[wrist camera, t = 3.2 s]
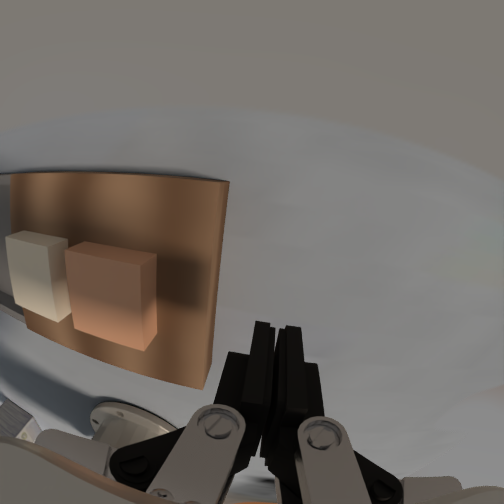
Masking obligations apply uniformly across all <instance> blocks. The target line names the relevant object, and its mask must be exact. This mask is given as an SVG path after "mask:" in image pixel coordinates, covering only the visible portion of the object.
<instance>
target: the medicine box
mask: <svg viewBox="0 0 504 504" xmlns="http://www.w3.org/2000/svg"><path fill="white" fill-rule="evenodd" d="M41 432H42V431H41V429H40V427H39V425H38V423H37V422H36V420H35V419H34V417H33V416H31V415H30V414H28V413H27V412H25V411H24V410H22V409H21V408H19V407H18V406H16V405H15V404H14V403H12V402H11V401H10V400H8V399H7V400H6V401H5V402H4V403H3V404H2V405H1V406H0V436H8V437H14V438H19V439H23V440H26V441H29V442H32V443H33V442H34V441H35V440H36V438H37V436H38V435H39V433H41Z"/></svg>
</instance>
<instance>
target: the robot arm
mask: <svg viewBox="0 0 504 504" xmlns="http://www.w3.org/2000/svg"><path fill="white" fill-rule="evenodd" d="M274 345H275V328H274V327H270V323H267V322H260V321H255V327H254V333H253V339H252V344H251V350H250V355H247V354H241V353H235V352H230V351H229V352H228V355H227V358H226V362H225V365H224V369H223V372H222V376H221V379H220V383H219V386H218V389H217V393H216V396H215V400H214V403H213V404H210V405H207V406H203V407H202V408H200V409H198V410H197V411H196V412H195V413H194V414H193V416H192V418H191V419H190V421H189V423H188V424H187V426H185V427H182V428H180V429H176V428H174V427H173V426H171V425H170V424H169V423H167V422H165V421H164V420H162V419H160V418H158V417H157V416H155V415H153V414H151V413H148V412H146V411H144V410H141V409H139V408H136V407H134V406H130V405H127V404H123V403H117V402H104V403H100V404H98V405H97V406H96V407H95V408H94V409H93V411H92V412H91V415H90V422H91V425H92V427H93V429H94V431H95V434H94V436H93V438H92V439H91V440H90V439H86V438H83V437H79V436H76V435H72V434H69V433H66V432H63V431H60V430H55V429H48V430H44V431H42V432H41V433H39V435H38V436H37V438H36V440H35V443H32V442H29V441H26V440H23V439H19V438H14V437H8V436H0V504H223V503H224V501H225V498H226V496H227V493H228V491H229V488H230V486H231V483H232V481H233V478H234V475H235V474H236V473H238V472H240V471H241V470H243V469H245V468H247V467H248V464H249V461H250V458H251V456H254V457H255V455H256V452H257V449H258V445H259V442H260V439H261V436H262V439H261V448H260V457H262V458H265V466H268V470H269V471H270V472H271V473H272V474H274V475H275V487H276V495H277V503H278V504H504V488H502V487H497V486H479V487H472V488H467V489H463V490H462V486H461V483H460V482H459V481H458V479H456V478H454V477H450V476H443V477H404V478H403V479H402V480H399V479H397V478H396V477H395V476H394V475H392V474H390V473H389V472H387V471H385V470H384V469H382V468H381V467H379V466H377V465H376V464H374V463H373V462H371V461H370V460H368V459H366V458H365V457H363V456H362V455H360V454H359V453H357V452H356V451H354V450H353V448H352V446H351V443H350V440H349V437H348V434H347V432H346V430H345V428H344V427H343V426H342V425H341V424H340V423H339V422H338V421H336V420H334V419H332V418H328V417H325V415H324V407H323V399H322V392H321V384H320V377H319V370H318V365H317V364H316V363H307V362H304V353H303V342H302V332H301V327H295V326H288V325H286V327H285V329H281V328H280V329H279V333H278V338H277V342H276V347H275V351H274Z"/></svg>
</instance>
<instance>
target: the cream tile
mask: <svg viewBox="0 0 504 504" xmlns="http://www.w3.org/2000/svg"><path fill="white" fill-rule="evenodd" d="M5 240H6V250H7V259H8V266H9V273H10V279H11V284H12V290H13V295H14V299H15V303H16V304H18V305H20V306H22V307H24V308H26V309H28V310H30V311H32V312H35V313H37V314H39V315H41V316H44V317H46V318H48V319H51V320H53V321H55V322H60V321H61V320H62V319H64V318H65V317H66V316H67V315H69V314H70V313H71V306H70V299H69V292H68V284H67V275H66V265H65V252H64V250H65V249H67V248H68V239H66V238H60V237H55V236H50V235H45V234H40V233H35V232H30V231H25V230H24V231H21V232H18V233H14V234H11V235H9V236H6V237H5Z"/></svg>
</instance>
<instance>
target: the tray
mask: <svg viewBox="0 0 504 504" xmlns="http://www.w3.org/2000/svg"><path fill="white" fill-rule="evenodd" d="M13 174H18V173H13ZM10 177H11V174H0V310H2V311H3V312H5V313H7V314H9V315H10V316H12V317H14V318H16V319H18V320H19V321H21V322H23V323H25V324H26V321H25V317H24V313H23V309H22V306H20V305H18V304H16V303H15V299H14V295H13V290H12V284H11V279H10V273H9V266H8V259H7V250H6V240H5V237H6V236H9V235H11V221H10Z"/></svg>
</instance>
